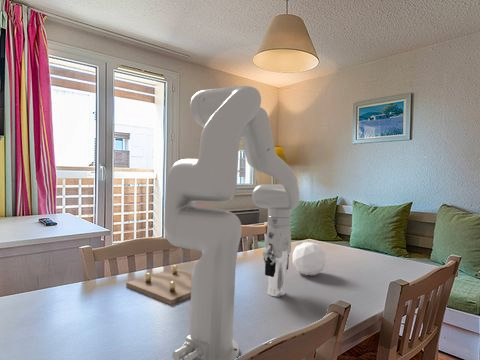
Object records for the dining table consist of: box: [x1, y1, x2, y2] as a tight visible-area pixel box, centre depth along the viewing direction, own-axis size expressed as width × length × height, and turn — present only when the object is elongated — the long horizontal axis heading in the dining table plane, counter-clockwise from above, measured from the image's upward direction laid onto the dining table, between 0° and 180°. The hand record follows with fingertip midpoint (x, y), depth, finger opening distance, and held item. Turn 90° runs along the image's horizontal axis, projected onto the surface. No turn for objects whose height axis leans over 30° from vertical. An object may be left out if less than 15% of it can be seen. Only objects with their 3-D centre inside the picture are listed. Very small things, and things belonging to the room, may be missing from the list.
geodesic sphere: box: [291, 240, 327, 276], centre depth 127 cm, size 14×14×14 cm
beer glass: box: [266, 250, 288, 298], centre depth 105 cm, size 7×7×15 cm
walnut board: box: [125, 264, 192, 306], centre depth 108 cm, size 22×22×4 cm
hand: (276, 272), depth 105 cm, fingers open, 9 cm apart
